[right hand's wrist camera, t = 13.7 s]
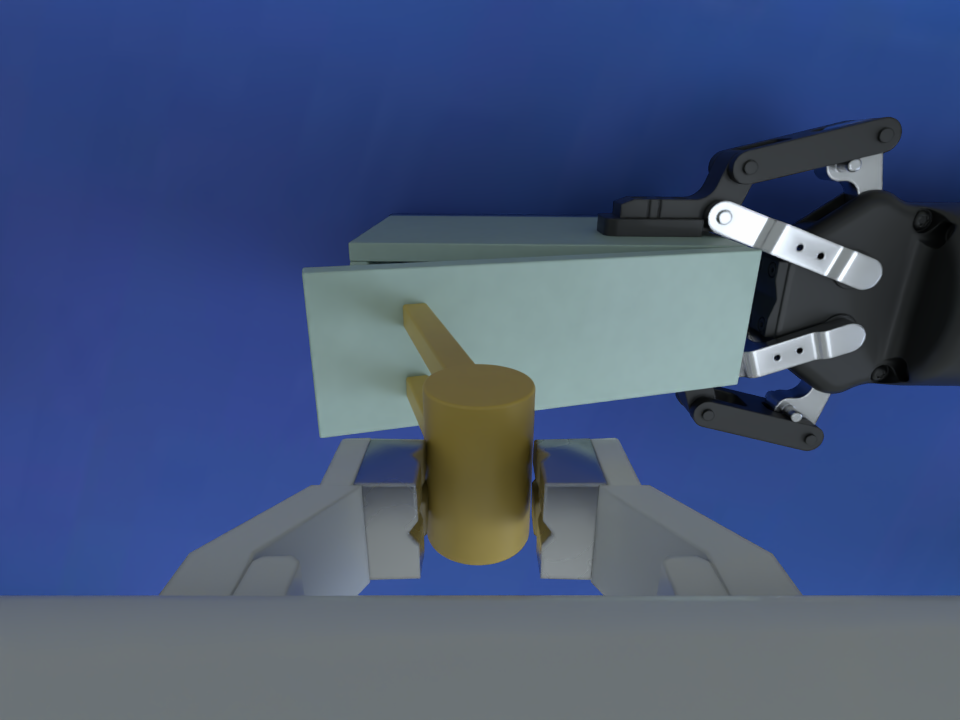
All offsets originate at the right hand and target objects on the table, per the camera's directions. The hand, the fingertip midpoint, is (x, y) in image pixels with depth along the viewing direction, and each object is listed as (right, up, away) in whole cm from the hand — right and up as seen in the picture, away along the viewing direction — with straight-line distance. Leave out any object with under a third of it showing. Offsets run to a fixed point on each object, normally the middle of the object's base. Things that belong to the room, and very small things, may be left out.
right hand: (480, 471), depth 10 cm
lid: (+2, +3, +8) cm, 9 cm away
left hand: (+5, +5, +13) cm, 15 cm away
